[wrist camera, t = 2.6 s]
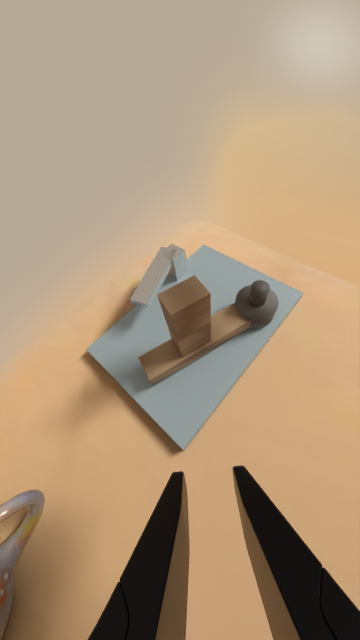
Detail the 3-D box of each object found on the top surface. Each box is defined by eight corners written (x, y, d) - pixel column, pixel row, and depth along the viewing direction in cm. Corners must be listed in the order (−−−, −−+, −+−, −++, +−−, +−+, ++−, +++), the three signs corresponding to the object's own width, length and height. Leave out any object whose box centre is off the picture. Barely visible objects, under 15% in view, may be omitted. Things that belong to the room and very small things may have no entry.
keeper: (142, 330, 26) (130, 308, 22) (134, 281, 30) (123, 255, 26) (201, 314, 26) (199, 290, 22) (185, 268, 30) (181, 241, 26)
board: (184, 450, 19) (182, 450, 18) (90, 353, 25) (86, 349, 24) (300, 298, 25) (303, 292, 24) (203, 250, 31) (203, 244, 31)
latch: (256, 290, 25) (274, 222, 18) (282, 316, 23) (314, 250, 16) (139, 357, 22) (104, 309, 15) (157, 392, 20) (127, 355, 13)
